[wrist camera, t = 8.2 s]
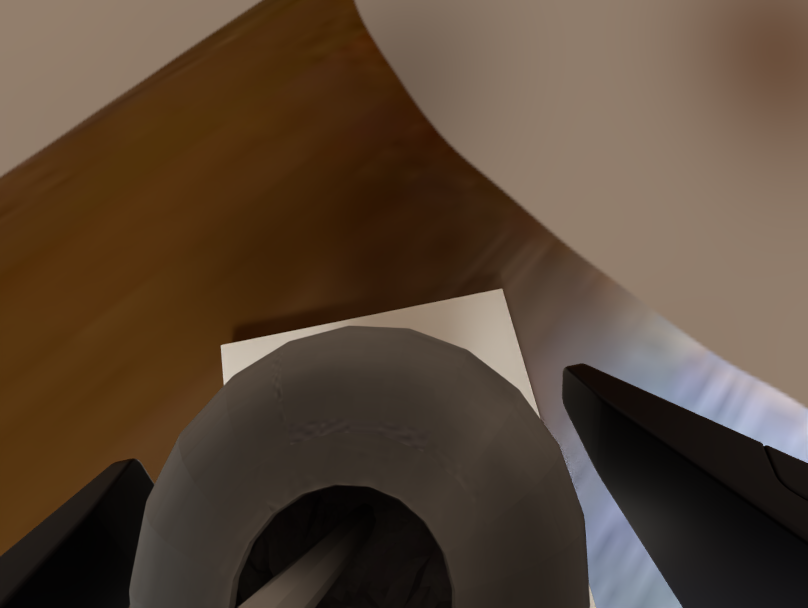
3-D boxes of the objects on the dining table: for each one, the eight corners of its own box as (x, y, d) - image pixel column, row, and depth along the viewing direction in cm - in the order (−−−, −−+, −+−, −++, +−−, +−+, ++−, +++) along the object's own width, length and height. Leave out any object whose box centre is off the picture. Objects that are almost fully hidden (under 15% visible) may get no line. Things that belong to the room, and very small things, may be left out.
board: (584, 599, 18) (596, 610, 17) (259, 678, 18) (248, 695, 16) (497, 296, 23) (502, 288, 21) (230, 350, 22) (220, 345, 21)
